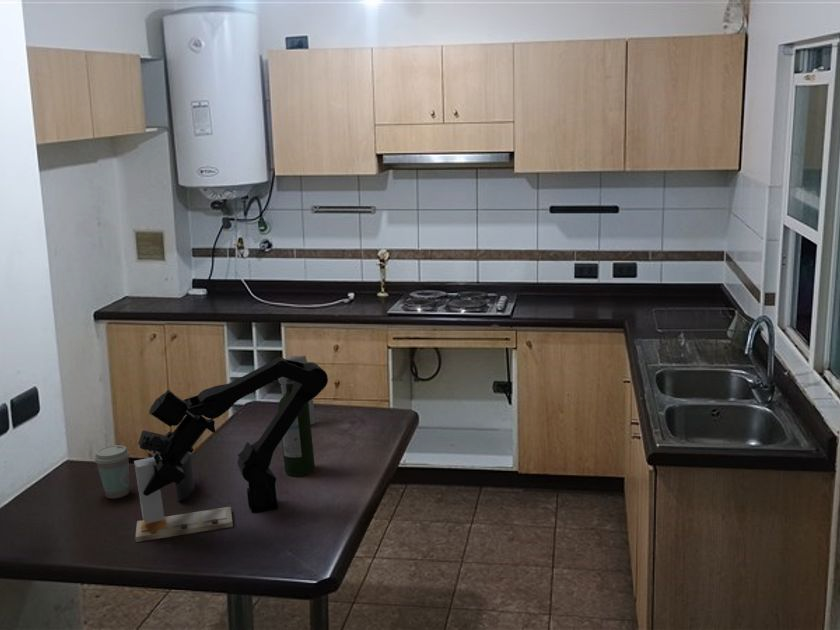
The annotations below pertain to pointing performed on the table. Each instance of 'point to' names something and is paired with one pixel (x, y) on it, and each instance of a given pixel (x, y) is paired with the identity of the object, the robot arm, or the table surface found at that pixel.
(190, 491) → the leaning round-cornered charcoal block
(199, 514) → the switch board
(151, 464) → the block
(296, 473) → the wine bottle
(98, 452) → the coffee cup
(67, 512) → the table surface
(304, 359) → the tall pale column
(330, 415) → the table surface
